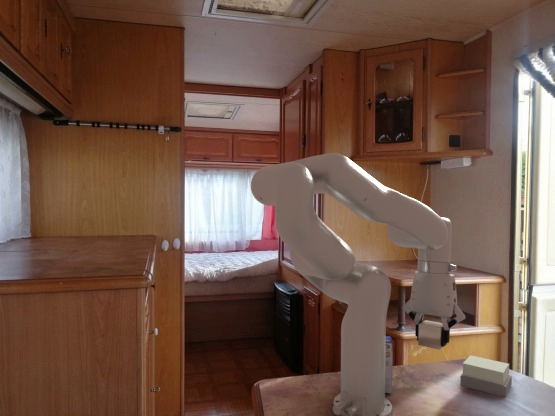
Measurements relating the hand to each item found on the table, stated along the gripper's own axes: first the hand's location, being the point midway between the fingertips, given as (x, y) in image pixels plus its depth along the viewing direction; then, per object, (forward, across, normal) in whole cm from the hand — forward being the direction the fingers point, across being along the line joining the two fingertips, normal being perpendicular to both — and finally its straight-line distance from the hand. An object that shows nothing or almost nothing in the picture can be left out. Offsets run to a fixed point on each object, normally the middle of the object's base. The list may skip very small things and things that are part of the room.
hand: (432, 341), depth 100 cm
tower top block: (+9, -10, -11) cm, 17 cm away
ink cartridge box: (+12, +12, +8) cm, 19 cm away
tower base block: (+12, -10, -11) cm, 19 cm away
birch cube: (+1, 0, 0) cm, 1 cm away
